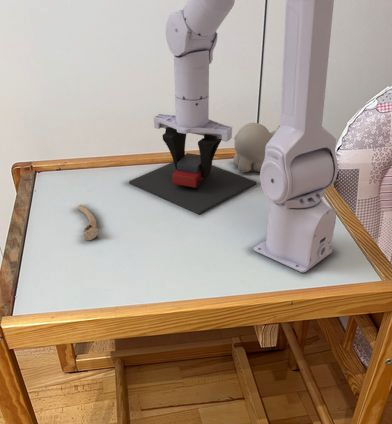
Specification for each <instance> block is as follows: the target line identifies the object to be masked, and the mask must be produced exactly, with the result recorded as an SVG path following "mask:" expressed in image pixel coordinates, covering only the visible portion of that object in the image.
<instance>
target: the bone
mask: <svg viewBox="0 0 392 424" xmlns="http://www.w3.org/2000/svg"><path fill="white" fill-rule="evenodd" d="M77 210H78V211H79V212H81V213H82V214H84V215H85V216H86V218H87V220H88V225H87V226H86V227H85V228H84V230H83V235H82V236H83V237H84V240H85V241H92V240H94V239H95V238H97V237H98V235H99V229H98V227H97V224H98V223H97V219H96V217H95V215H94V214H93V213H92V212H91V211H90V209H88V208H87V207H86V206H85V205H83V204H79V205H78V206H77Z"/></svg>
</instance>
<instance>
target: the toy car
mask: <svg viewBox="0 0 392 424" xmlns="http://www.w3.org/2000/svg"><path fill="white" fill-rule="evenodd" d="M212 165H213V163H212V164H211V168H210V172H211V169H212ZM209 175H210V173H209ZM209 175H208V176H209ZM202 179H203V177H202V175H201V157H200V154H196V153H191V152H190V153H189V152H186V153H185V156H184V157H183V158H182V159H181V160H180V161H179V162H178V163H177V170H176V171H175V172H174V173H173V174H172V182H173V184H175V185H179V186H180V185H183V186H189V187H193V188H197V189H198V188H199V186H200V182H201V180H202Z"/></svg>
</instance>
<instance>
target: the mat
mask: <svg viewBox="0 0 392 424" xmlns="http://www.w3.org/2000/svg"><path fill="white" fill-rule="evenodd" d="M175 171H176V168H175V164H174V161H172V162H170V163H167V164H165V165H163V166H161V167H158V168H156V169H154V170H152V171H149V172H147V173H145V174H143V175H140V176H138V177H135V178H134V179H131V180H129V181H128V183H129V184H130V185H132V186H134V187H136V188H138V189H140V190H143V191H145V192H148V193H150V194H152V195H154V196H157V197H158V198H161V199H163V200H165V201H168V202H169V203H172V204H174V205H176V206H179V207H181V208H183V209H186V210H188V211H190V212H193V213H195V214H197V215H202V214H203V213H205V212H207V211H209V210H210V209H213V208H214V207H216V206H218V205H220V204H222V203H224V202H226V201H228V200H230V199H231V198H233V197H235V196H237V195H239V194H241V193H243V192H244V191H247V190H248V189H250V188H252V187H254V186H256V185H257V181H255V180H253V179H251V178H248V177H244V176H242V175H240V174H237V173H234V172H232V171H229V170H226V169H223V168H220V167H219V166H216V165H213V164H212V169H211V172H210V175H209V176H206V177H205V178H203V179H202V180H201V182H200V186H199V188H198V189H197V188H193V187H189V186H183V185H180V186H179V185H175V184H173V182H172V174H173V173H174V172H175Z"/></svg>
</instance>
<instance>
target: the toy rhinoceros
mask: <svg viewBox="0 0 392 424" xmlns="http://www.w3.org/2000/svg"><path fill="white" fill-rule="evenodd" d="M279 127H280V124H279V125H278V126H277V127H276V129H275V130H273V131H271V132H270V131H269V129H268V128H267V126H265V125H264V124H262V123H259V122H250V123H247V124H244V125H243V126H242V127H240V129H238V131H237V132H236V134H235V136H234V149H235V150H234V151H235V153H234V156H233V160H232V161H233V164H234V165H235V166H237V169H238V172H241V173H248V172H251V170H253V171H254V172H258V173H260V171H261V167H262V164H263V162H264V158H265V147H266V144H267V143H268V142H269V140H270V139H271V138H272V137H273V135H274V134H275V133H276V132H277V130H278V129H279Z"/></svg>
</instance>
